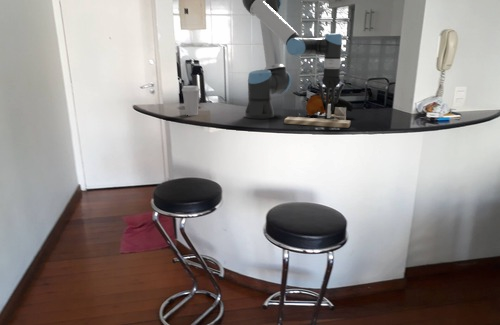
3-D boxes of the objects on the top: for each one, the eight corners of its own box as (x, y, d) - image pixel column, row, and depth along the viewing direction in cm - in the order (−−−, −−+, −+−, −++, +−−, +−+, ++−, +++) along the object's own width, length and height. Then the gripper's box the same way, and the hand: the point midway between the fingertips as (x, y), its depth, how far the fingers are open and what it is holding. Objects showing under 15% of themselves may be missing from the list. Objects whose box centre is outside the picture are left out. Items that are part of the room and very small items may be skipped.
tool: (341, 132, 198) (354, 105, 192) (301, 113, 202) (313, 86, 196) (342, 128, 206) (355, 103, 200) (303, 110, 209) (315, 85, 203)
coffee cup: (189, 116, 200) (187, 87, 196) (179, 114, 207) (177, 86, 203) (204, 114, 206) (203, 86, 202) (194, 112, 213) (193, 85, 209)
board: (284, 123, 184) (284, 119, 183) (288, 120, 190) (288, 116, 189) (348, 127, 174) (348, 123, 173) (350, 124, 180) (350, 120, 179)
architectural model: (343, 124, 184) (344, 108, 181) (329, 122, 187) (330, 107, 185) (345, 123, 186) (346, 107, 184) (331, 121, 190) (332, 106, 188)
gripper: (316, 68, 180) (314, 118, 187) (344, 68, 176) (341, 119, 183) (319, 67, 187) (317, 115, 194) (346, 67, 183) (343, 117, 190)
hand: (328, 117), depth 188 cm, fingers closed
